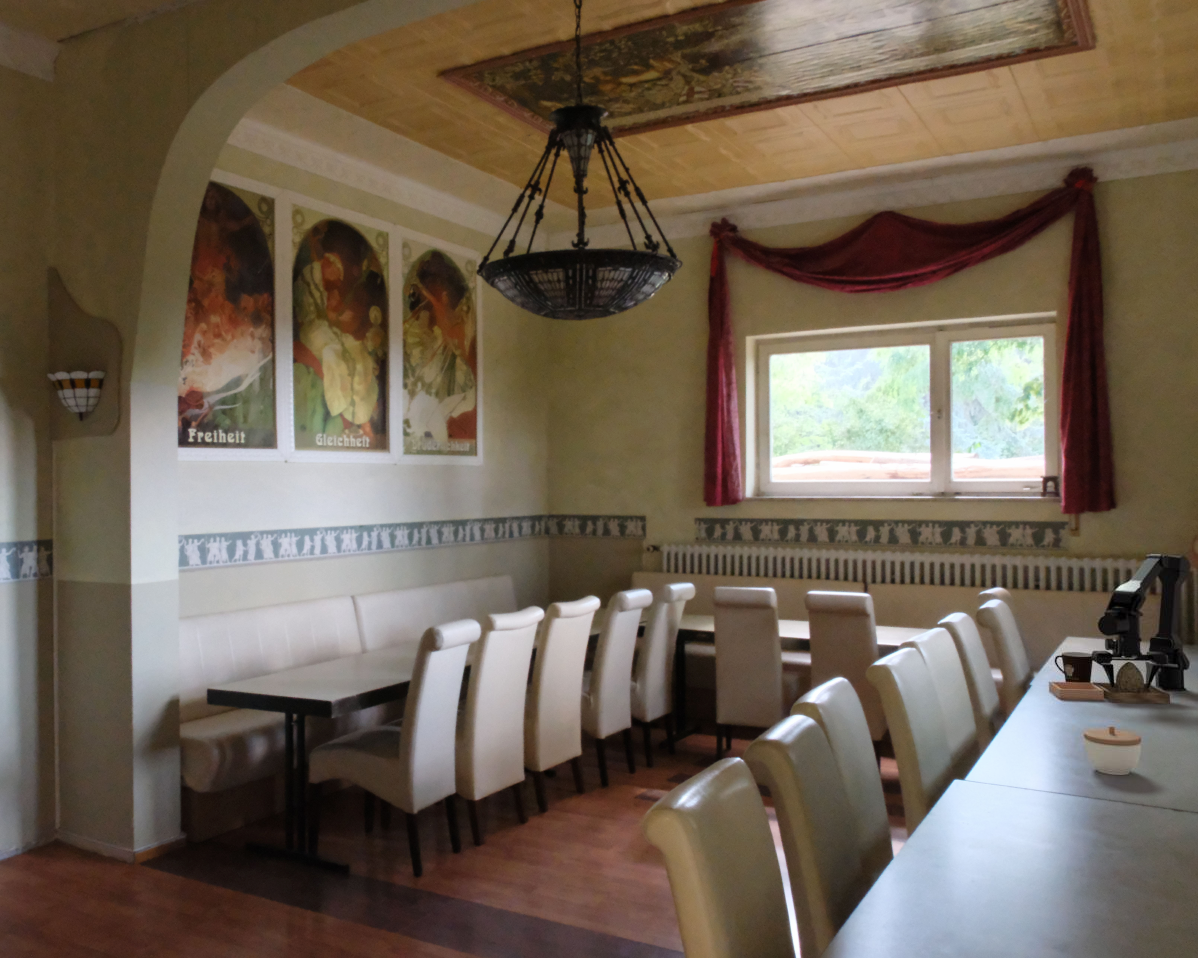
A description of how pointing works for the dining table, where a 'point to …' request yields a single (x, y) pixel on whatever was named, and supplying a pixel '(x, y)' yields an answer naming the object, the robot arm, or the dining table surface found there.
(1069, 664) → the coffee mug
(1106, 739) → the lidded jar
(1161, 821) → the dining table surface
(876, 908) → the dining table surface
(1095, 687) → the terracotta dish
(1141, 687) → the decorative egg
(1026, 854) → the dining table surface
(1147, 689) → the tray
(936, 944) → the dining table surface
